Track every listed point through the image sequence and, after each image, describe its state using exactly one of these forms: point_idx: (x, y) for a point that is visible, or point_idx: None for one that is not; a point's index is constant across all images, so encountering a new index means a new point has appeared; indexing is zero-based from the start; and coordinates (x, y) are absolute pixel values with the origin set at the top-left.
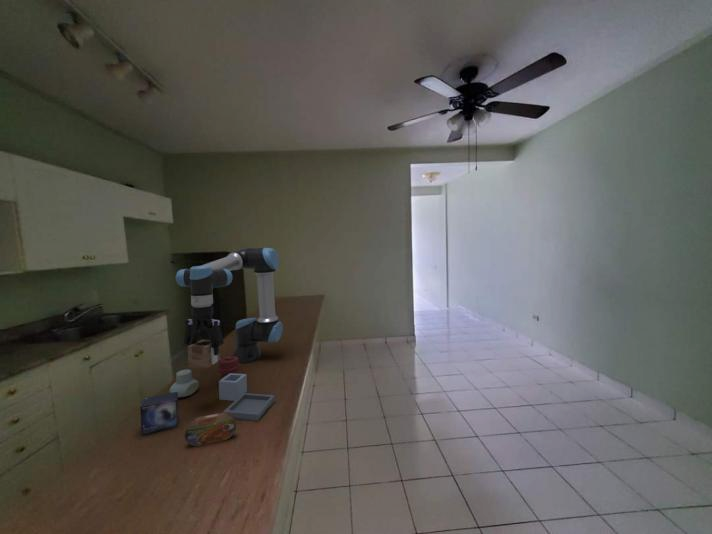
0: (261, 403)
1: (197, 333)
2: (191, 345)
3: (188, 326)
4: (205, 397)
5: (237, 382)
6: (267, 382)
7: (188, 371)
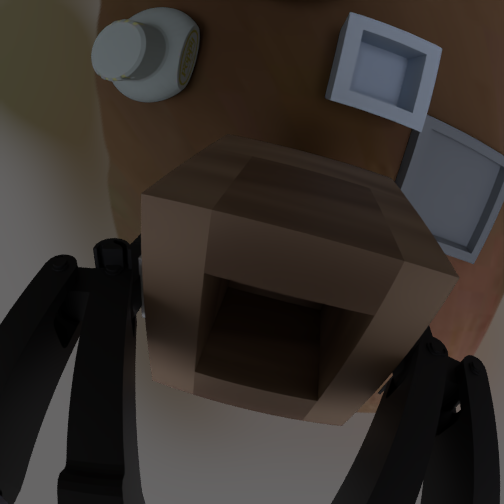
0: (478, 176)
1: (129, 434)
2: (169, 372)
3: (16, 490)
4: (259, 76)
5: (422, 122)
6: (463, 7)
7: (132, 40)
